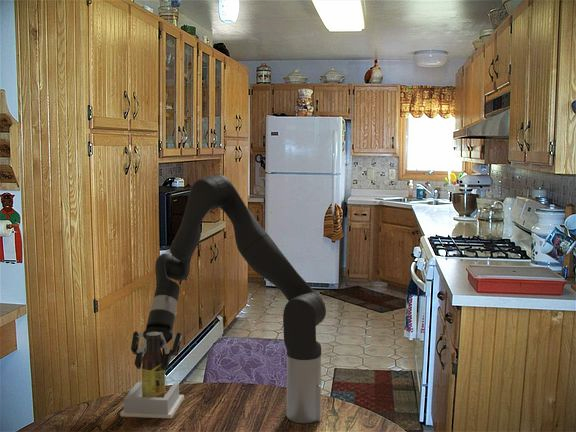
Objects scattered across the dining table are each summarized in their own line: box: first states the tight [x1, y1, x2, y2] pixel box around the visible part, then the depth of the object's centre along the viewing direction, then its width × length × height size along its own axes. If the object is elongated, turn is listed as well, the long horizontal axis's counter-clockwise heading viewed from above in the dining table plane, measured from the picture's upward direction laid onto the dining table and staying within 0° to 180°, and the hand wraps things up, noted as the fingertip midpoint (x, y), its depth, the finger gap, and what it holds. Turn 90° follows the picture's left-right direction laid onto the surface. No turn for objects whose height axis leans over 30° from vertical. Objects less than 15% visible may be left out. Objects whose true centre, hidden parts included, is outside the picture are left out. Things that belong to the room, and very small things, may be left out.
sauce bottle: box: [141, 332, 166, 398], centre depth 162 cm, size 7×6×20 cm
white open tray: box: [120, 381, 185, 419], centre depth 163 cm, size 14×13×5 cm
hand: (150, 368), depth 160 cm, fingers open, 6 cm apart
